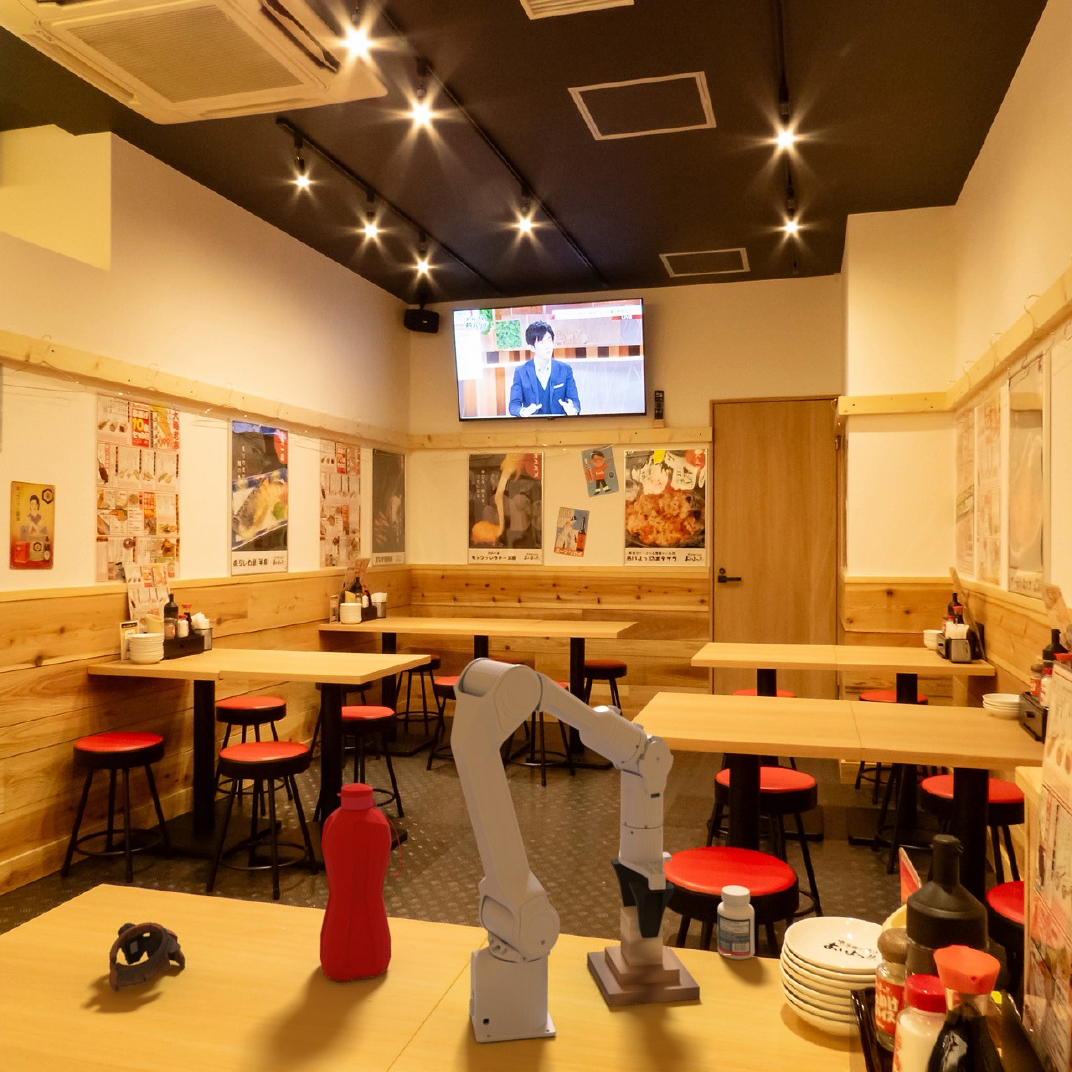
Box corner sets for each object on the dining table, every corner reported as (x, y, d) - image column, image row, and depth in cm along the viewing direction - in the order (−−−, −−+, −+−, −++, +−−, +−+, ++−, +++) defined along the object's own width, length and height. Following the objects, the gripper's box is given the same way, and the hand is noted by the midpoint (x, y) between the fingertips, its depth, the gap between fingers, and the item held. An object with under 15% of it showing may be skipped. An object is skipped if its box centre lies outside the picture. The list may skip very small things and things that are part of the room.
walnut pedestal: (609, 1006, 111) (609, 982, 111) (587, 963, 123) (587, 941, 123) (699, 998, 114) (699, 975, 114) (669, 957, 125) (669, 935, 125)
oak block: (629, 966, 116) (629, 920, 116) (620, 951, 120) (620, 907, 120) (662, 964, 117) (662, 918, 117) (652, 949, 121) (652, 904, 121)
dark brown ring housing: (204, 974, 120) (189, 935, 116) (141, 1030, 114) (123, 990, 110) (154, 931, 127) (138, 892, 123) (93, 981, 120) (74, 942, 116)
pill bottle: (727, 941, 131) (727, 880, 131) (760, 951, 127) (760, 889, 128) (710, 953, 127) (710, 890, 127) (744, 964, 123) (744, 899, 124)
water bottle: (407, 975, 119) (409, 789, 120) (324, 988, 115) (327, 796, 116) (394, 947, 128) (396, 773, 129) (316, 958, 124) (319, 779, 125)
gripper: (688, 837, 112) (687, 945, 112) (653, 806, 127) (652, 902, 126) (635, 840, 111) (634, 949, 111) (606, 808, 126) (605, 905, 125)
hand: (640, 924), depth 119 cm, fingers open, 7 cm apart
